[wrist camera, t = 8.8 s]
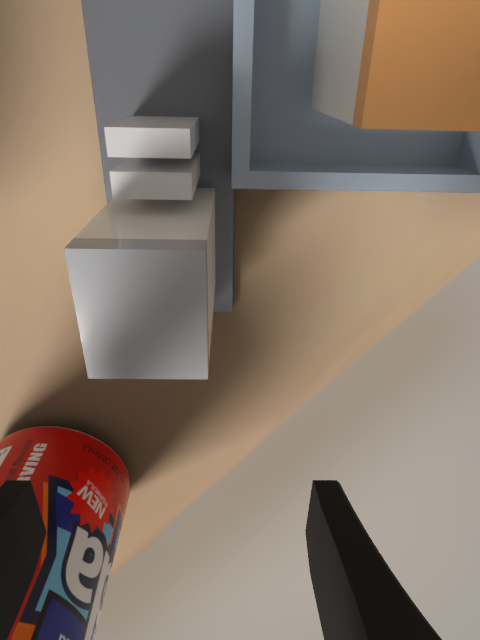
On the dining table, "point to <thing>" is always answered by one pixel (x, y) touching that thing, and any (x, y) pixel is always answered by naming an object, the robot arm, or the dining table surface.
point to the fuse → (146, 288)
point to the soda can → (68, 527)
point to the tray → (322, 120)
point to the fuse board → (166, 106)
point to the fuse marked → (399, 64)
